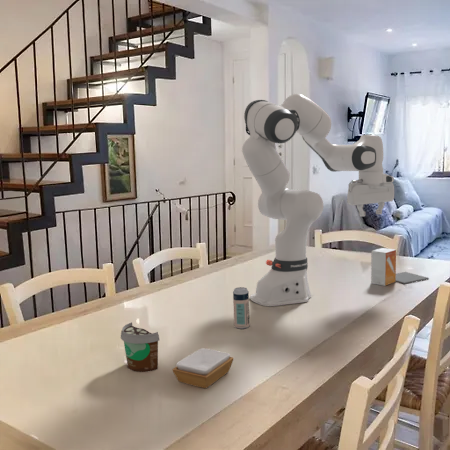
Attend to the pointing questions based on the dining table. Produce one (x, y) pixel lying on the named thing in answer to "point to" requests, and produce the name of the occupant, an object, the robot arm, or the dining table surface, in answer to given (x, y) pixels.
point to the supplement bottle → (241, 307)
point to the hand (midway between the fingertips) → (370, 215)
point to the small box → (383, 266)
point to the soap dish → (203, 367)
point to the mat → (408, 278)
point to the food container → (140, 348)
